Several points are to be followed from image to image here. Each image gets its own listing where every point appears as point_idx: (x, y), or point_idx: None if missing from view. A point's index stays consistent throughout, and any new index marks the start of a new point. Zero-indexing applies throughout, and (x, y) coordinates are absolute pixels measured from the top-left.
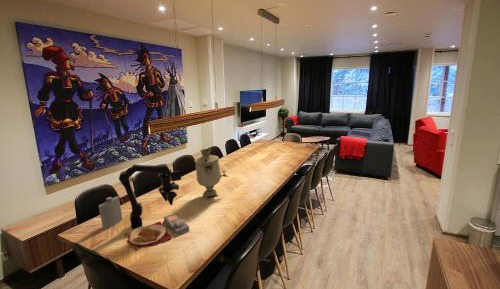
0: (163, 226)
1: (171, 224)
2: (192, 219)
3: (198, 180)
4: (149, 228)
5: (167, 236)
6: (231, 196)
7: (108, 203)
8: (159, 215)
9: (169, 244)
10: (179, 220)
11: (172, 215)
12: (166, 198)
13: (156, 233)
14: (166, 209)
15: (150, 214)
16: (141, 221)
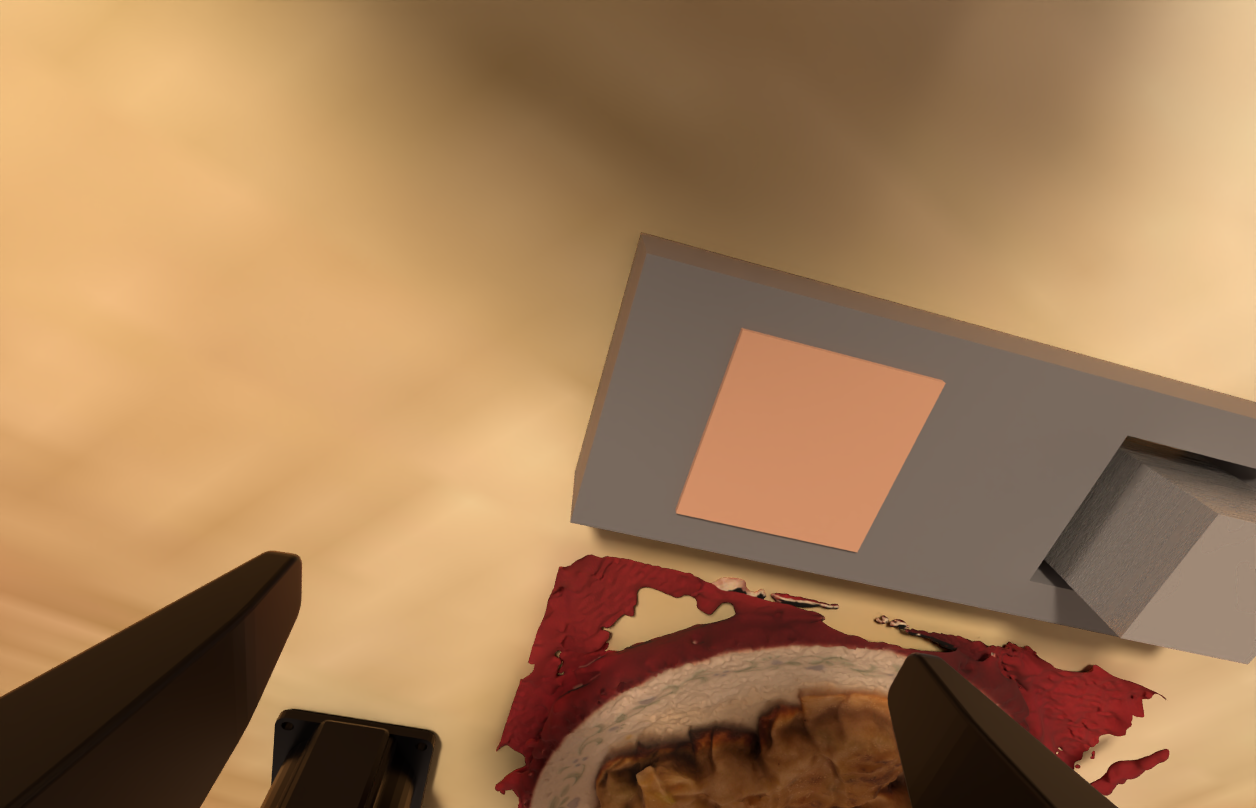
0: (828, 646)
1: (977, 592)
2: (1127, 64)
3: None
4: (676, 779)
5: (1039, 684)
6: None
7: None
8: (261, 402)
9: (1183, 741)
10: (1238, 570)
11: (686, 372)
12: (213, 681)
13: (890, 779)
14: (36, 110)
15: (68, 481)
16: (372, 785)
